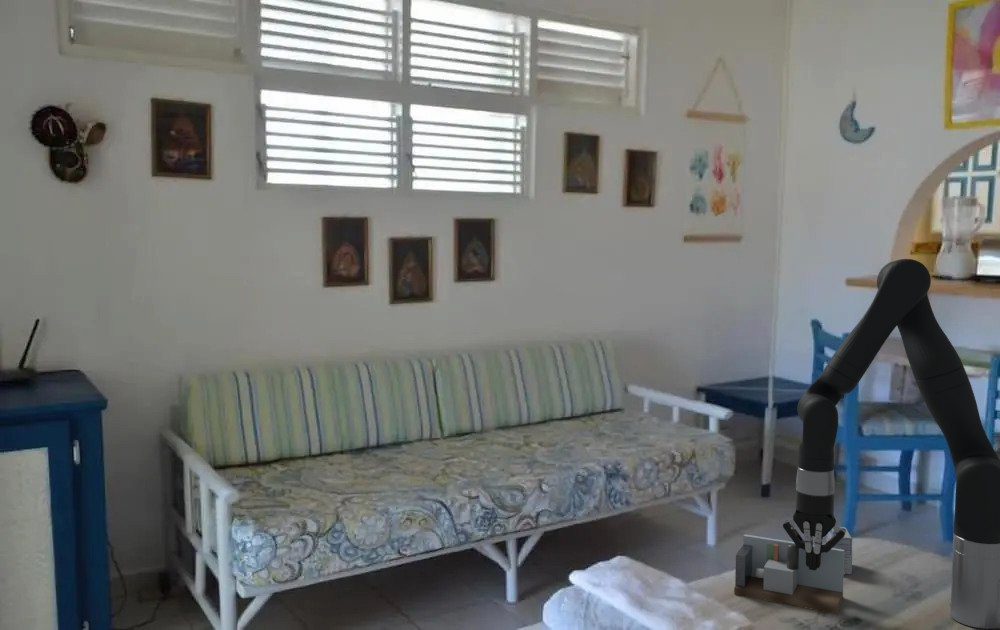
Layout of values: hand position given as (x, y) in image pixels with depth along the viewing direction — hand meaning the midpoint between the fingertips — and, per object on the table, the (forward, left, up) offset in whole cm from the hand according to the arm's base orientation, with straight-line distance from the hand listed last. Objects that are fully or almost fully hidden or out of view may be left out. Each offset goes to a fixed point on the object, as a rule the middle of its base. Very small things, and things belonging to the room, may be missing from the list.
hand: (812, 568), depth 182 cm
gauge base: (+5, -1, -7) cm, 9 cm away
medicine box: (-3, -22, -7) cm, 23 cm away
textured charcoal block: (+14, 0, -6) cm, 16 cm away
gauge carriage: (+7, 0, -5) cm, 9 cm away
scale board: (+5, -4, -6) cm, 9 cm away
